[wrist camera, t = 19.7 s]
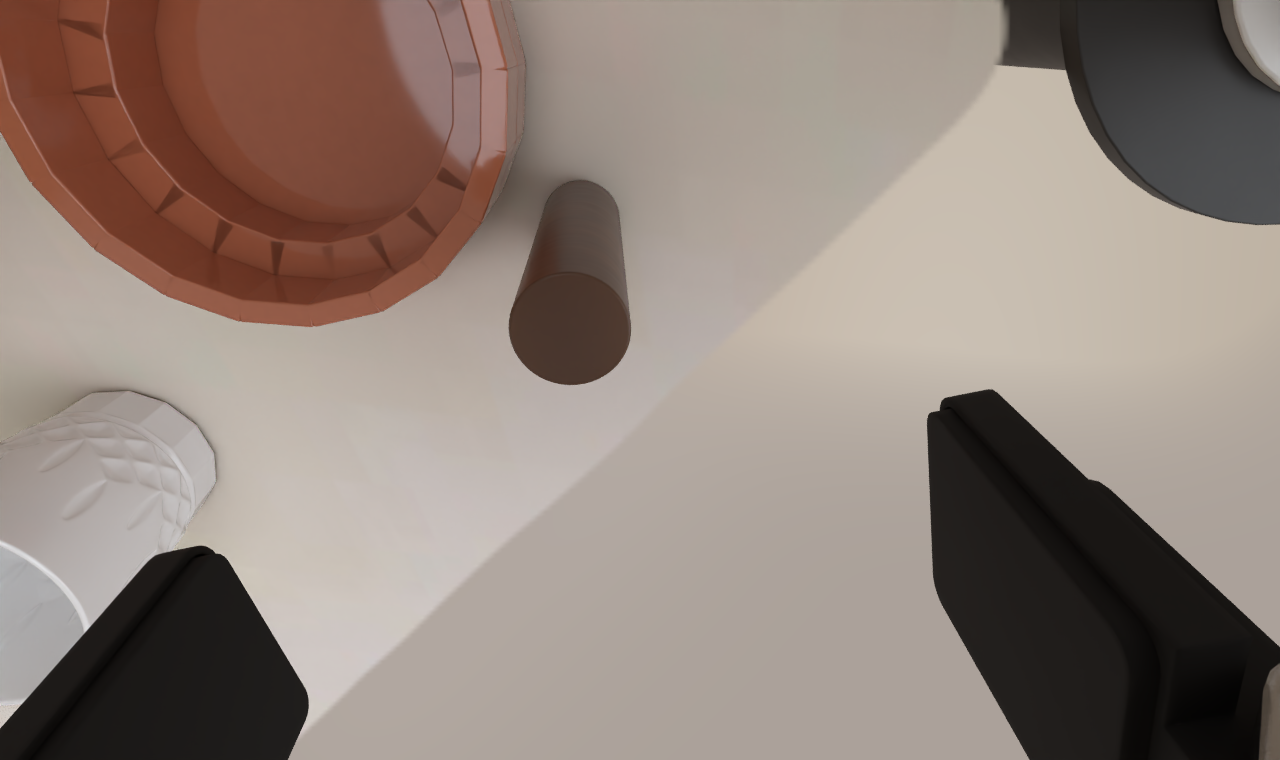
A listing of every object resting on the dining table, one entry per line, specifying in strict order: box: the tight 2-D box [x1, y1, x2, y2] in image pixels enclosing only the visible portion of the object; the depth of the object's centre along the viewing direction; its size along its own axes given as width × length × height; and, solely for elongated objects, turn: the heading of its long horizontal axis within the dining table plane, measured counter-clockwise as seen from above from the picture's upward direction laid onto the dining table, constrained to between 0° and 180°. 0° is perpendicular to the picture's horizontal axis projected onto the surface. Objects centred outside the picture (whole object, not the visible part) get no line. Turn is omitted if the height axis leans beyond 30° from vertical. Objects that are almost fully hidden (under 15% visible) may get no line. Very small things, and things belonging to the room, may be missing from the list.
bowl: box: [0, 0, 526, 327], centre depth 23 cm, size 15×15×6 cm
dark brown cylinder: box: [509, 180, 631, 385], centre depth 23 cm, size 3×3×12 cm
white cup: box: [0, 391, 216, 706], centre depth 27 cm, size 8×8×10 cm
